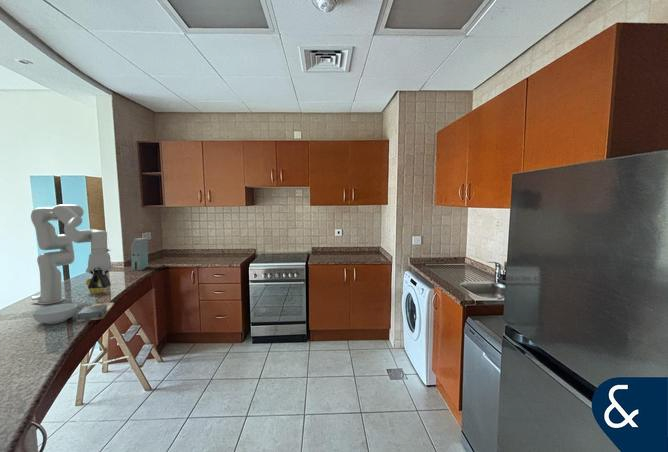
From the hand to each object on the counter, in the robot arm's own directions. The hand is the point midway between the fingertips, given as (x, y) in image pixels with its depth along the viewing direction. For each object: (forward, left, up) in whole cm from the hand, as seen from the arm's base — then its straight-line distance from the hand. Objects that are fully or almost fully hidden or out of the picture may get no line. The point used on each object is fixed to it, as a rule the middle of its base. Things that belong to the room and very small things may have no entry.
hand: (99, 281), depth 168 cm
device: (+4, +122, -17) cm, 124 cm away
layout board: (0, -7, -17) cm, 18 cm away
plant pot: (-11, +40, -17) cm, 45 cm away
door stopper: (0, 0, -3) cm, 3 cm away
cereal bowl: (-15, -14, -17) cm, 27 cm away
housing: (0, -15, -15) cm, 21 cm away
